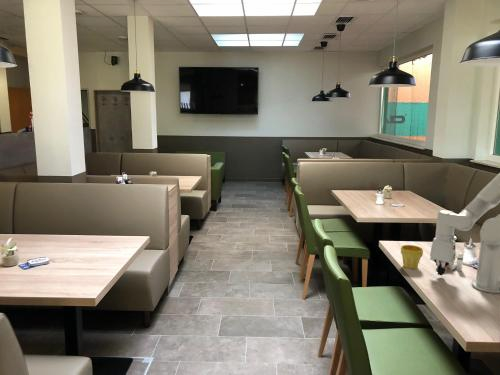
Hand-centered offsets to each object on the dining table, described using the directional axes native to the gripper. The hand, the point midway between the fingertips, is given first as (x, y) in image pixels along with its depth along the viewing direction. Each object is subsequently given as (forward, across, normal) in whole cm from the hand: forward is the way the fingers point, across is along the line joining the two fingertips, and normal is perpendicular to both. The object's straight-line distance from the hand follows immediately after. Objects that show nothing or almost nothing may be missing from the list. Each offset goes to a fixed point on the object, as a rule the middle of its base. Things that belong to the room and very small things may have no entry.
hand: (440, 274), depth 192 cm
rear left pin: (+2, +2, -16) cm, 17 cm away
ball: (-2, +4, -12) cm, 12 cm away
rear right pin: (+2, -2, -16) cm, 17 cm away
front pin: (0, 0, -13) cm, 13 cm away
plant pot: (+2, +16, -3) cm, 16 cm away
